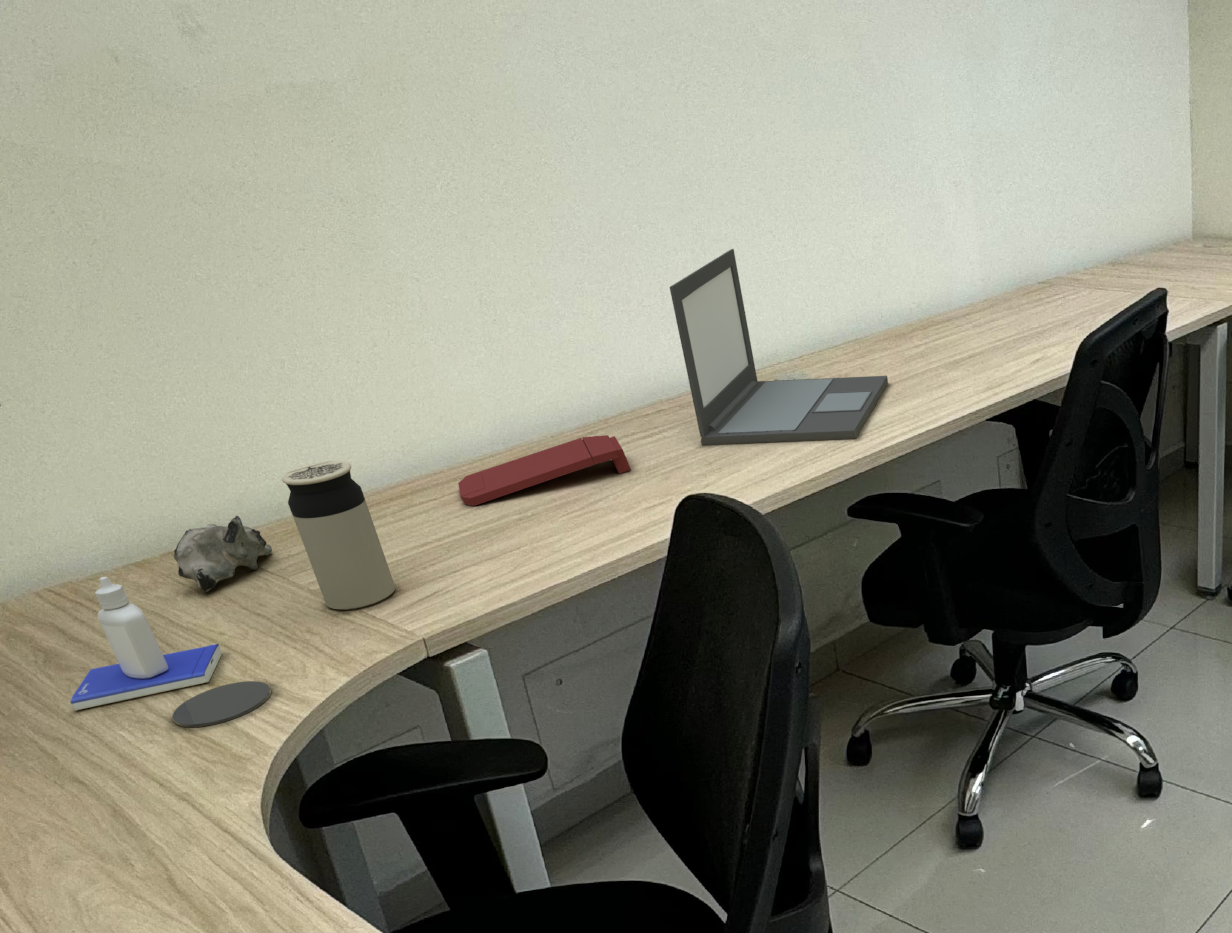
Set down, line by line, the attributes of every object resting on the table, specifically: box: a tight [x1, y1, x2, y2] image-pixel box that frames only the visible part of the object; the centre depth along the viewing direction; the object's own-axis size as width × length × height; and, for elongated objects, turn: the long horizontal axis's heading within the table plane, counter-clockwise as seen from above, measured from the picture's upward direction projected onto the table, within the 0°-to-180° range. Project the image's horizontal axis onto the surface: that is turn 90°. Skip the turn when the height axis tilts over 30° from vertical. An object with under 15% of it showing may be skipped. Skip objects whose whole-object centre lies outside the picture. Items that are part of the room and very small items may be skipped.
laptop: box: [669, 248, 889, 446], centre depth 213 cm, size 35×28×28 cm
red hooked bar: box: [457, 434, 632, 506], centre depth 190 cm, size 12×5×25 cm
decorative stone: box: [173, 515, 273, 593], centre depth 159 cm, size 16×9×10 cm, turn 23°
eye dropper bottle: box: [94, 576, 168, 679], centre depth 130 cm, size 4×6×12 cm
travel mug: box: [281, 460, 396, 611], centre depth 148 cm, size 8×8×18 cm
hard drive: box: [70, 643, 223, 711], centre depth 133 cm, size 2×8×12 cm
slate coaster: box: [172, 680, 272, 728], centre depth 128 cm, size 9×9×1 cm
